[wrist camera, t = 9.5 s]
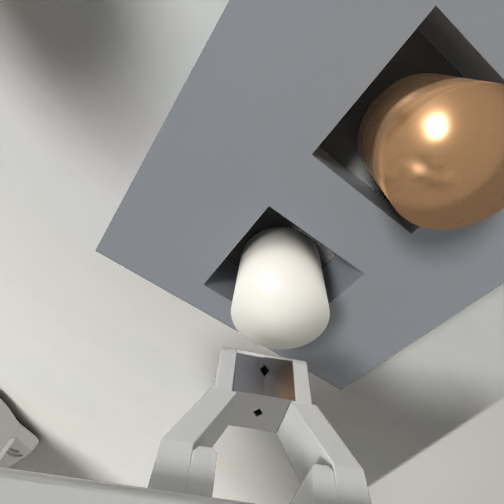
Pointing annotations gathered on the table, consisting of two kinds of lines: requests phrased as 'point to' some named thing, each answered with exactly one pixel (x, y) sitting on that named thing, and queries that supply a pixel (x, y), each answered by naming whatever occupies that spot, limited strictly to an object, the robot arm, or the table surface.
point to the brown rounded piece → (437, 148)
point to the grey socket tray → (308, 173)
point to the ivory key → (280, 290)
